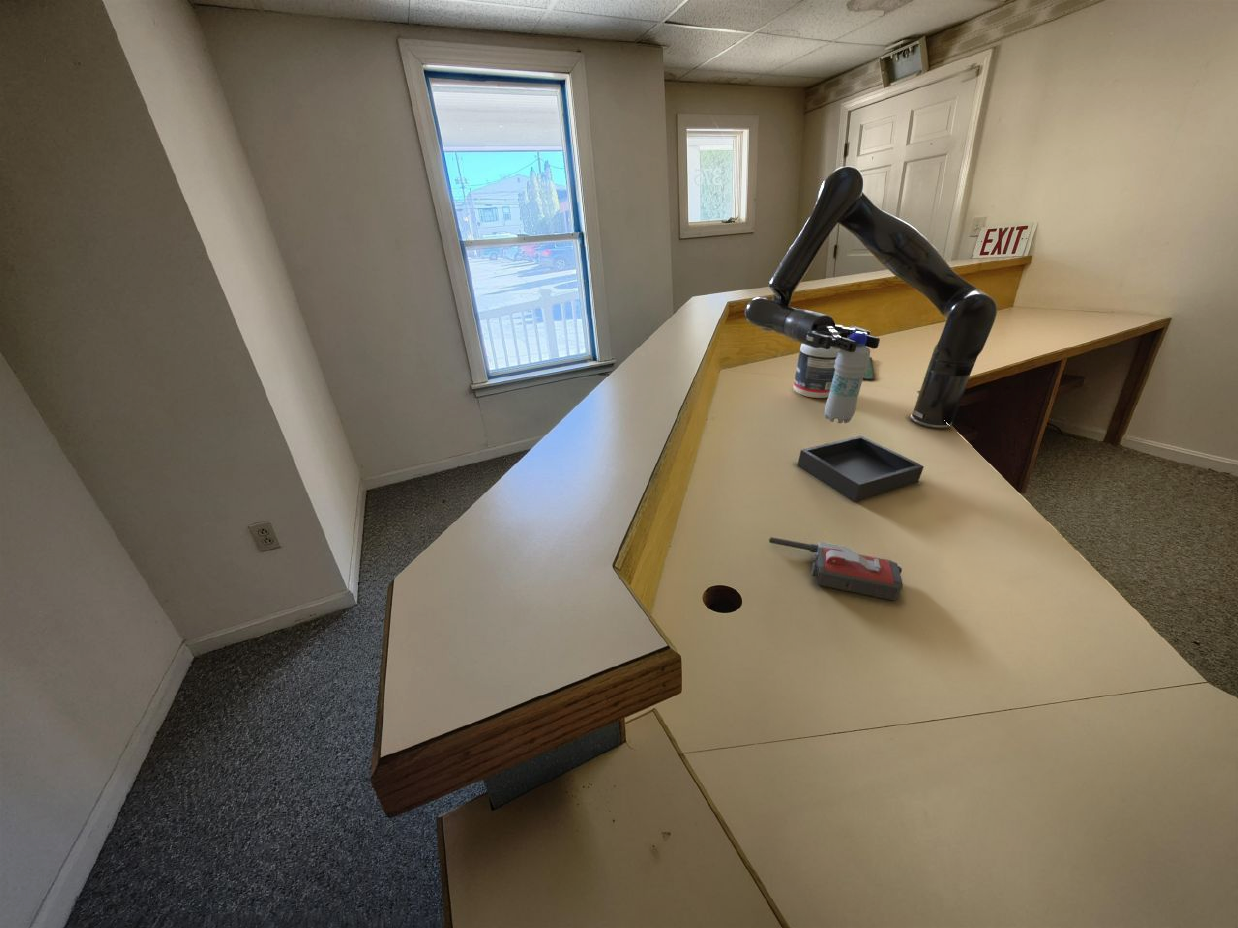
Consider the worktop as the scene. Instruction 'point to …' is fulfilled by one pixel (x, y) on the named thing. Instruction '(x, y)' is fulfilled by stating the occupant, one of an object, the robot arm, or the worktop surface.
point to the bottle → (847, 380)
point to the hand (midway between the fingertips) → (866, 345)
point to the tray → (859, 467)
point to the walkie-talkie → (851, 569)
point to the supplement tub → (815, 371)
